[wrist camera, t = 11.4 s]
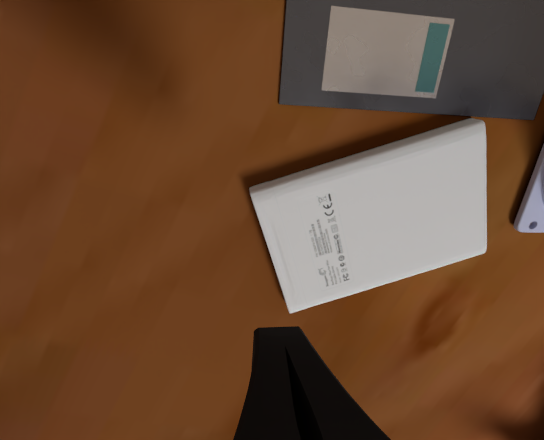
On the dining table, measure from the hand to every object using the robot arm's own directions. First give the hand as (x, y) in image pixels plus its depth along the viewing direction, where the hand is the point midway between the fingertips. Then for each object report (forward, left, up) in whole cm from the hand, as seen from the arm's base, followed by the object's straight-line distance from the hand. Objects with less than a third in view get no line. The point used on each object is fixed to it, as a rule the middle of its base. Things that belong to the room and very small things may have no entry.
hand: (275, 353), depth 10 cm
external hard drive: (-7, -1, -10) cm, 12 cm away
